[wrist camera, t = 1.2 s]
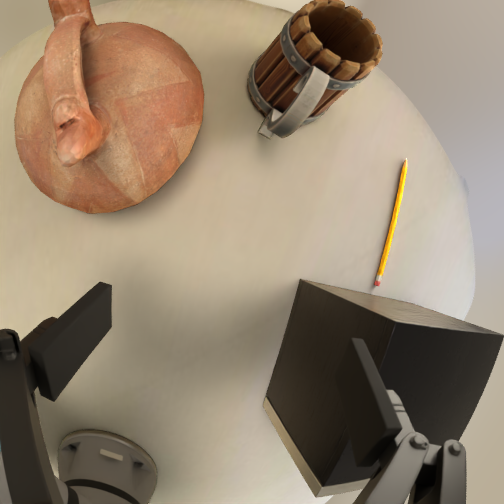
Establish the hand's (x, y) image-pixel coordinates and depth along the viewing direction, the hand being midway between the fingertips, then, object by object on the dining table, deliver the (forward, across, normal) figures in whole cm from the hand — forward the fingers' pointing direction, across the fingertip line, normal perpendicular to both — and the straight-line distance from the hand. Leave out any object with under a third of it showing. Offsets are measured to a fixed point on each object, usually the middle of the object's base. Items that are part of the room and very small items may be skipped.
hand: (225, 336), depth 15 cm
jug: (+19, +17, -9) cm, 27 cm away
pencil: (+27, -19, -5) cm, 34 cm away
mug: (+25, 0, -16) cm, 30 cm away
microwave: (+21, -17, +14) cm, 30 cm away
